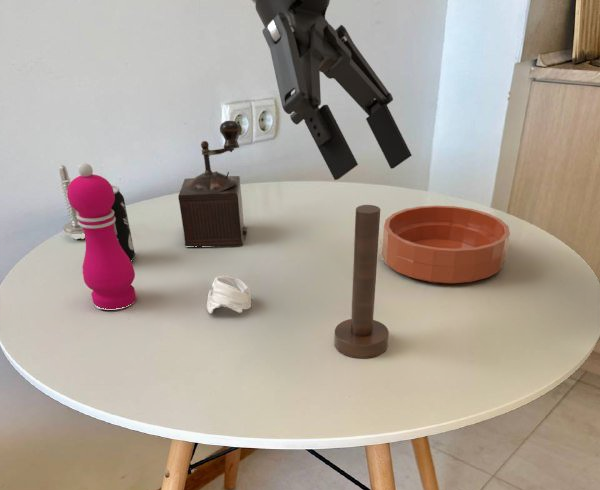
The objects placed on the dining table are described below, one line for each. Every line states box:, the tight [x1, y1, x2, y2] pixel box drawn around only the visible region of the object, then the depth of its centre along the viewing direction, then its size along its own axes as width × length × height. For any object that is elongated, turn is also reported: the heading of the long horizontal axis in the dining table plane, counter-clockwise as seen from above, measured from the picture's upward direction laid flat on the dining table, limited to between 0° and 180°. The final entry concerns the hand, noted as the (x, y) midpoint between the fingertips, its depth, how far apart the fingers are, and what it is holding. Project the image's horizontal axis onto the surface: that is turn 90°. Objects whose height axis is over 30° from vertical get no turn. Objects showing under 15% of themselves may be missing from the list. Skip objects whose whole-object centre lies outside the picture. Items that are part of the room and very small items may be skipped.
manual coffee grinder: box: [178, 120, 248, 248], centre depth 106 cm, size 16×11×18 cm
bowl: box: [381, 205, 511, 284], centre depth 97 cm, size 20×20×6 cm
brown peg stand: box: [333, 204, 390, 359], centre depth 73 cm, size 7×7×18 cm
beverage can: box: [111, 184, 136, 262], centre depth 97 cm, size 7×7×12 cm
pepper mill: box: [67, 162, 137, 309], centre depth 83 cm, size 7×7×20 cm
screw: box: [58, 164, 84, 235], centre depth 106 cm, size 13×5×5 cm
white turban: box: [206, 275, 252, 315], centre depth 86 cm, size 8×7×5 cm
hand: (376, 167), depth 65 cm, fingers open, 13 cm apart
